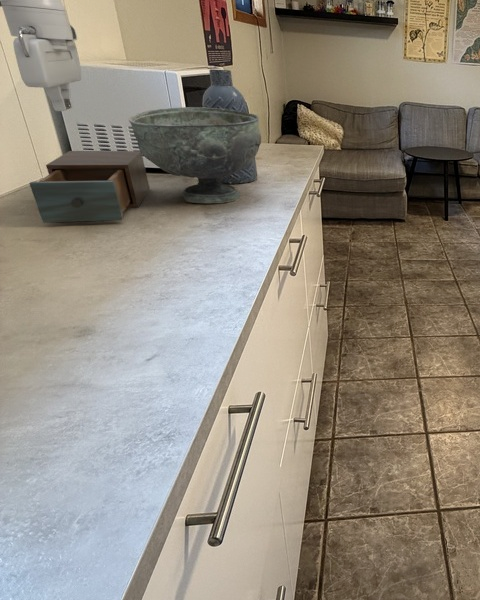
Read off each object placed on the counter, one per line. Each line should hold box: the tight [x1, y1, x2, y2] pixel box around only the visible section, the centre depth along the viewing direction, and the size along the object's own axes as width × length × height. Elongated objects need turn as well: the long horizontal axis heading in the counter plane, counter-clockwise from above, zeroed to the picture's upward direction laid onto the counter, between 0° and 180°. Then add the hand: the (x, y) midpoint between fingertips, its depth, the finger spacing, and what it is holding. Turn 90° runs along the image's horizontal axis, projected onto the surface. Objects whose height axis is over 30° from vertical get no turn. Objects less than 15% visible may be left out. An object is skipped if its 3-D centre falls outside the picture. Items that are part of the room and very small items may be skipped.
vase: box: [202, 68, 258, 185], centre depth 128 cm, size 12×12×28 cm
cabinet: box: [45, 150, 151, 209], centre depth 109 cm, size 16×15×10 cm
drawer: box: [29, 168, 132, 224], centre depth 98 cm, size 16×13×8 cm
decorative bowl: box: [127, 106, 262, 204], centre depth 113 cm, size 26×26×20 cm
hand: (63, 109), depth 91 cm, fingers closed
